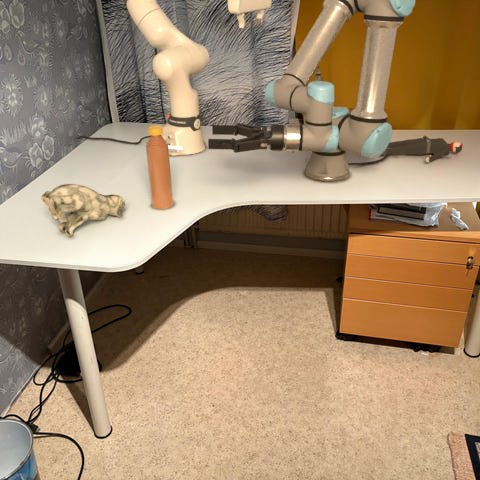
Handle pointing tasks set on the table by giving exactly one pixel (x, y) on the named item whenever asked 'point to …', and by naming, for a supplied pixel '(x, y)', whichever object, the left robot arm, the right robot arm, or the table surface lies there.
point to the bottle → (159, 172)
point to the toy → (423, 147)
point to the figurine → (80, 205)
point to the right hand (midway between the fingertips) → (210, 136)
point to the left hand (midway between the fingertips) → (250, 25)
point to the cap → (155, 130)
